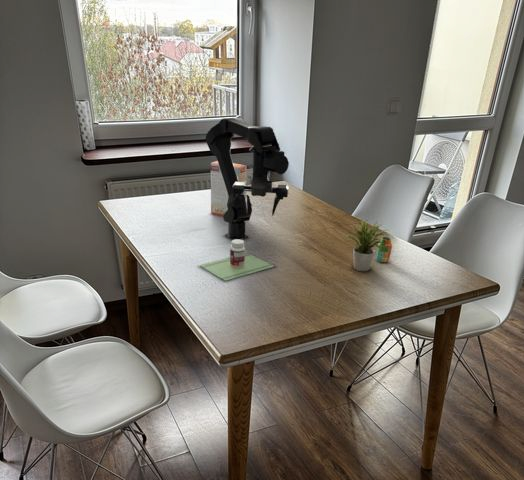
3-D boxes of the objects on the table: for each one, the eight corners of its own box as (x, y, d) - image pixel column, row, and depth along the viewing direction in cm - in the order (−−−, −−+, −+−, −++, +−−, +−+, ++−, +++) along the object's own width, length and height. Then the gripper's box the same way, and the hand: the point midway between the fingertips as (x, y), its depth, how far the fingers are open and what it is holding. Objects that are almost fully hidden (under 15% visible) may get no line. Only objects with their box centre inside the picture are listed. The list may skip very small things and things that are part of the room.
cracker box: (246, 217, 215) (247, 165, 204) (237, 220, 211) (238, 167, 200) (219, 210, 221) (219, 159, 210) (210, 213, 217) (209, 161, 206)
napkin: (199, 266, 169) (199, 265, 168) (248, 254, 180) (248, 253, 179) (225, 281, 160) (225, 280, 159) (274, 267, 171) (274, 266, 170)
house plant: (373, 282, 164) (381, 232, 155) (333, 271, 170) (339, 222, 161) (388, 268, 174) (397, 220, 166) (351, 258, 180) (357, 212, 172)
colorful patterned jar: (390, 259, 180) (394, 237, 176) (388, 264, 177) (392, 241, 172) (376, 257, 182) (380, 235, 177) (374, 261, 178) (378, 239, 174)
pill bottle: (229, 262, 171) (230, 238, 167) (244, 263, 172) (244, 238, 167) (230, 268, 167) (230, 243, 163) (244, 268, 168) (245, 244, 163)
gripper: (229, 171, 165) (229, 219, 173) (288, 175, 164) (284, 223, 172) (234, 164, 174) (234, 210, 182) (289, 167, 173) (286, 213, 181)
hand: (259, 214), depth 179 cm, fingers open, 9 cm apart
